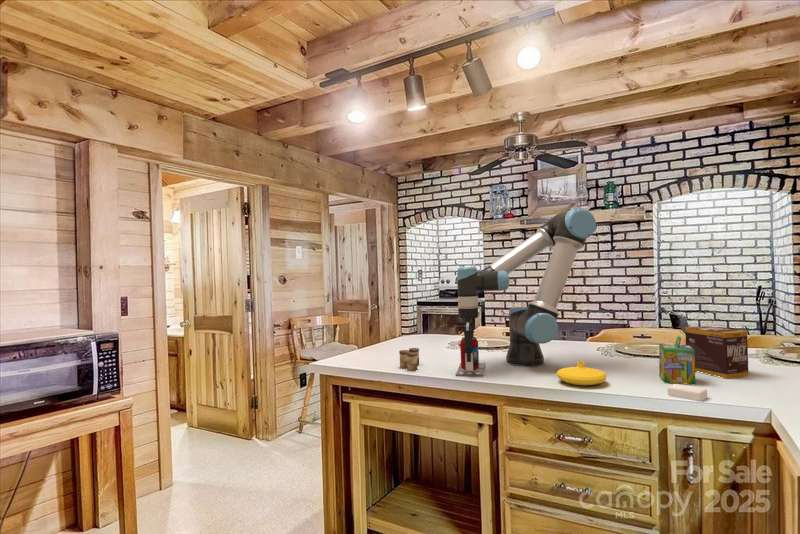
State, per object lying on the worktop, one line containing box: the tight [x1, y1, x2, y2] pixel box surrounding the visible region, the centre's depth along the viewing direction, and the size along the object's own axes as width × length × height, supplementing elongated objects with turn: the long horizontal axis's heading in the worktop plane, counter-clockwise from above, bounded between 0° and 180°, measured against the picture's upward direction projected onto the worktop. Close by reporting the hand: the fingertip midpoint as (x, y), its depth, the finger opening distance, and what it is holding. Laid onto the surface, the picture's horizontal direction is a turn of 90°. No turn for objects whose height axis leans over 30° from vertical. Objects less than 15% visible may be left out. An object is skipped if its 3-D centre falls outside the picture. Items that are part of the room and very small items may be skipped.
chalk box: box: [658, 335, 697, 385], centre depth 148 cm, size 9×9×15 cm
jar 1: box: [399, 349, 410, 370], centre depth 180 cm, size 4×4×7 cm
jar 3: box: [406, 352, 419, 372], centre depth 176 cm, size 4×4×7 cm
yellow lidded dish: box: [556, 361, 608, 386], centre depth 149 cm, size 16×16×7 cm
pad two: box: [458, 362, 486, 370], centre depth 178 cm, size 10×10×1 cm
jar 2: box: [408, 347, 420, 367], centre depth 185 cm, size 4×4×7 cm
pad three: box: [455, 367, 485, 378], centre depth 167 cm, size 10×10×1 cm
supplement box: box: [684, 325, 750, 379], centre depth 156 cm, size 10×15×16 cm
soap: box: [666, 383, 708, 402], centre depth 130 cm, size 9×6×3 cm, turn 38°
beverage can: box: [459, 336, 480, 371], centre depth 167 cm, size 7×7×12 cm
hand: (470, 367), depth 167 cm, fingers closed on beverage can, 7 cm apart
